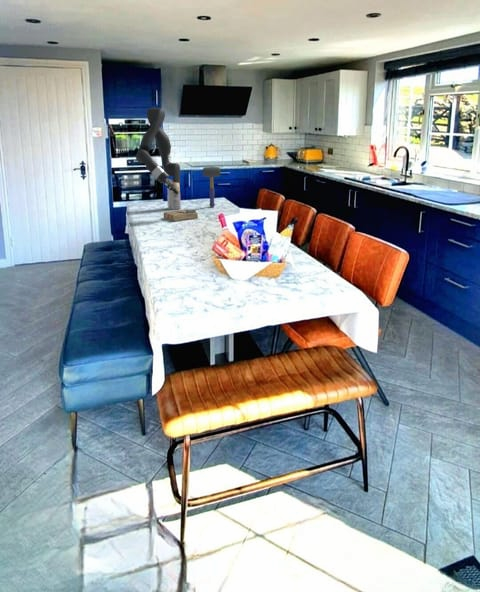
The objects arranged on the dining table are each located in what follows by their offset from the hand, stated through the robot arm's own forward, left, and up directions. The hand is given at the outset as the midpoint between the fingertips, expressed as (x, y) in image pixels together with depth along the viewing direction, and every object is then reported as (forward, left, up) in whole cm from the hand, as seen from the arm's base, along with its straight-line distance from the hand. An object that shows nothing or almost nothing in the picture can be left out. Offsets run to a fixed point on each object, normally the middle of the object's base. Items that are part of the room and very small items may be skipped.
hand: (178, 192), depth 341 cm
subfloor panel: (-1, +1, -18) cm, 18 cm away
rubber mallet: (-21, +41, -18) cm, 50 cm away
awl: (-1, -1, -6) cm, 6 cm away
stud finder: (+4, +7, -14) cm, 16 cm away
